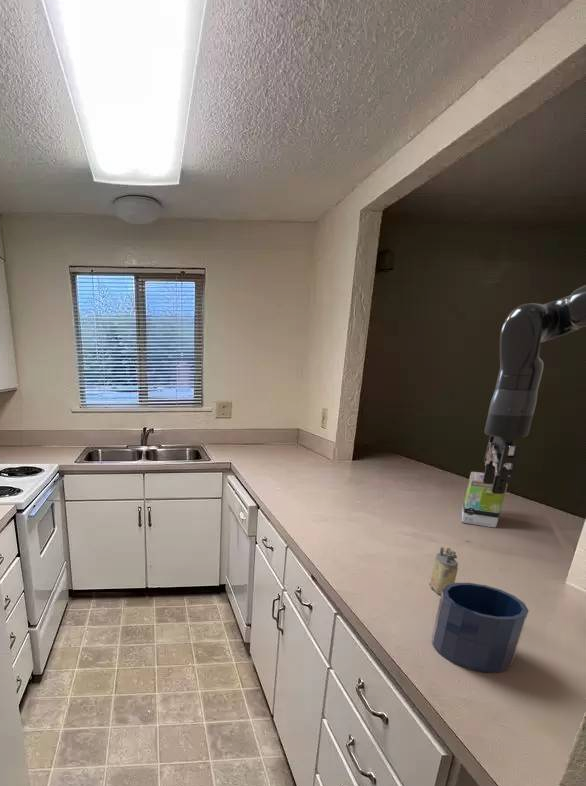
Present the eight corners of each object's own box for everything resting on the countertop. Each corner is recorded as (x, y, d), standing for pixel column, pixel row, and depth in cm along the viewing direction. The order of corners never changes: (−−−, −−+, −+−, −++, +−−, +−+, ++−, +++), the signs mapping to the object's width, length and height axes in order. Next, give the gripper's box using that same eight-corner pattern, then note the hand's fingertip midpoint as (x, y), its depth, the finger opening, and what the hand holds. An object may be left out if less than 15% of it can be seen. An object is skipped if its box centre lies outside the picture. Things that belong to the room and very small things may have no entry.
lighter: (454, 597, 100) (463, 558, 96) (436, 596, 101) (445, 557, 97) (442, 582, 107) (450, 545, 103) (425, 581, 107) (433, 544, 104)
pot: (463, 625, 90) (474, 577, 86) (528, 662, 78) (545, 609, 75) (416, 639, 85) (426, 590, 82) (478, 680, 74) (494, 626, 70)
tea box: (497, 528, 139) (508, 484, 134) (460, 523, 144) (470, 480, 139) (495, 514, 151) (505, 473, 146) (461, 510, 156) (470, 470, 151)
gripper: (544, 416, 81) (522, 499, 87) (522, 408, 94) (504, 481, 99) (497, 415, 84) (479, 495, 90) (481, 408, 96) (466, 479, 102)
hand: (492, 488), depth 94 cm, fingers open, 8 cm apart
